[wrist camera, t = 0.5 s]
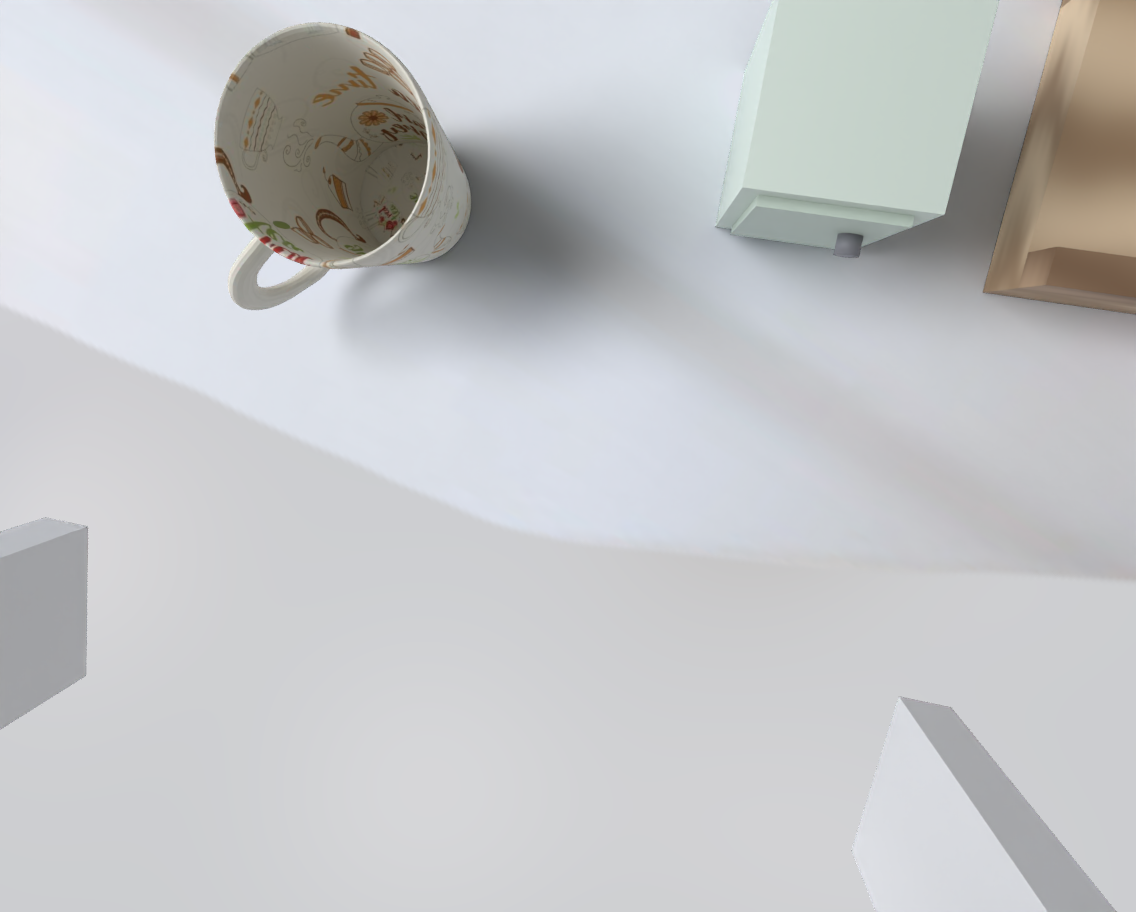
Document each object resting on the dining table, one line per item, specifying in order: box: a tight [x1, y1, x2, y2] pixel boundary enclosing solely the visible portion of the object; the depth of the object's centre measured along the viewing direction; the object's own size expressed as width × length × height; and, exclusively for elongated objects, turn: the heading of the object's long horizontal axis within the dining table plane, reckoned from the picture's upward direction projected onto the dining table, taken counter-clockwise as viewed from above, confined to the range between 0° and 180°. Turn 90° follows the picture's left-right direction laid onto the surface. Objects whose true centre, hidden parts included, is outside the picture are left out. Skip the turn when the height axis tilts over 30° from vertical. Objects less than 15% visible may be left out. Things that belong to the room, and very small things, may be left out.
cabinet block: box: [715, 0, 999, 258], centre depth 27 cm, size 8×7×9 cm
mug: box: [214, 22, 471, 310], centre depth 29 cm, size 8×13×10 cm, turn 133°
